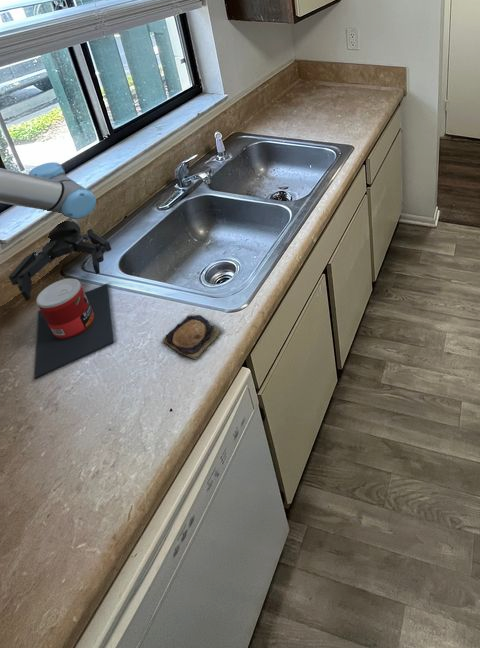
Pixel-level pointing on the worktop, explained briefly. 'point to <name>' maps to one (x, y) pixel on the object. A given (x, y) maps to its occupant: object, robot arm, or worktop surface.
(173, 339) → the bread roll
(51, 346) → the mat
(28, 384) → the worktop surface
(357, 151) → the worktop surface
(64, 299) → the canned food
